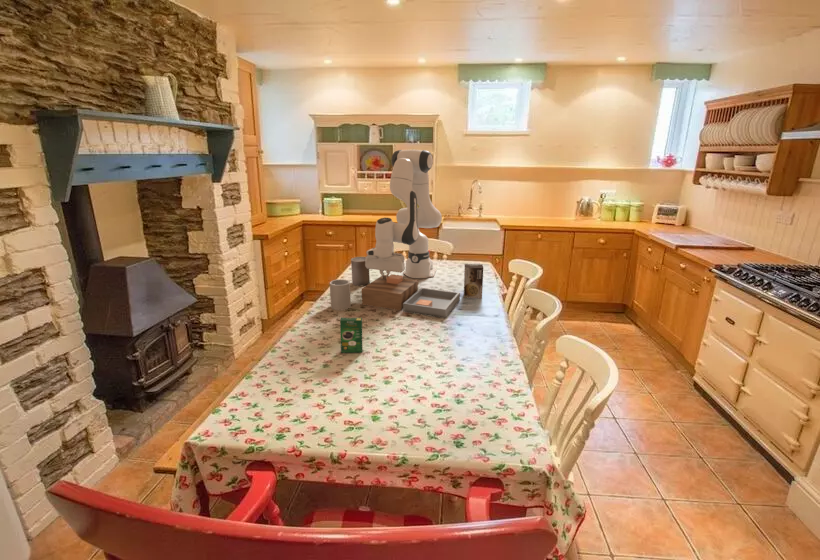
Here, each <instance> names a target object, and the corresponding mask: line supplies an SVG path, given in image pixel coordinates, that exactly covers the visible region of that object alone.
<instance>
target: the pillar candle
mask: <svg viewBox="0 0 820 560" xmlns="http://www.w3.org/2000/svg"><path fill="white" fill-rule="evenodd" d="M365 260H366V256H356V257H353V258H352V257H351V259H350V265H351V283H352V285H355V286H357V285H358V286H359V287H360V285H363V286H367V285H368V284H370V283H371V281H370V279H371V277H370V269H367V268H366V266H365Z"/></svg>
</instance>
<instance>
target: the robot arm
mask: <svg viewBox="0 0 820 560" xmlns="http://www.w3.org/2000/svg"><path fill="white" fill-rule="evenodd" d="M390 160H391V161H390V163H391V166H392V171H391V175H390V180H389V191H390V193H391V195H392V196H394V197H395V198H397V199H398V200H400V201H402V202H403V203H404V204H405V205H406V207H404V208H403V207H402V208H400V209H399V210H397V212H396V217H395V219H396V222H394V221H393V220H392V218H390V217H381V218H379V219H377V220H376V223H375V229H374V232H375V234H374V235H375V236H374V237H375V240H376V241H375V247H372V248H370V249H368V250H366V256H365V257H366V260H365V266H366V268H367V269H369V270H375V271H376V270H377V271H379V273H380V276H382V279H387V277H388V276H390V275H391V272H392V273H393V272H395V273H403V274H404V275H405V276H407V277H408V278H411V279H412V278H413V279H426V278H434V276H435V275H436V273H437V270H438V269H437V268H436V267H434V261H433V260H432V259H431V258H430V253H431V250H430V249H429V238H428V237H427V235H426V234H424V233H422V232H421V231H420V229H421V228H424V229H434V228H439V226H440V225H441V224H442V220H443V216H442V215H443V214H442V212H440V210H439V209H438V208H436V206H435V205H434V204H433V202H432V200H431V198H430V197H431V196H430V177H429V176H430V175H429V171H430V170H431V169H432V167H433V163H434V159H433V155H432V153H431V152H430V151H429V150H426V149H425V150H424V149H414V148H413V149H399V150H395V151H394V152H393V154H392V155H391V158H390ZM418 206H419V207H418ZM394 243H397V244H404V245H408V253H407V256H408V258H407V259H406V260H405V255H403V253H398V252H395V251H394V249H395V248H394ZM384 271H385V272H386V274H385V272H384Z"/></svg>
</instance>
